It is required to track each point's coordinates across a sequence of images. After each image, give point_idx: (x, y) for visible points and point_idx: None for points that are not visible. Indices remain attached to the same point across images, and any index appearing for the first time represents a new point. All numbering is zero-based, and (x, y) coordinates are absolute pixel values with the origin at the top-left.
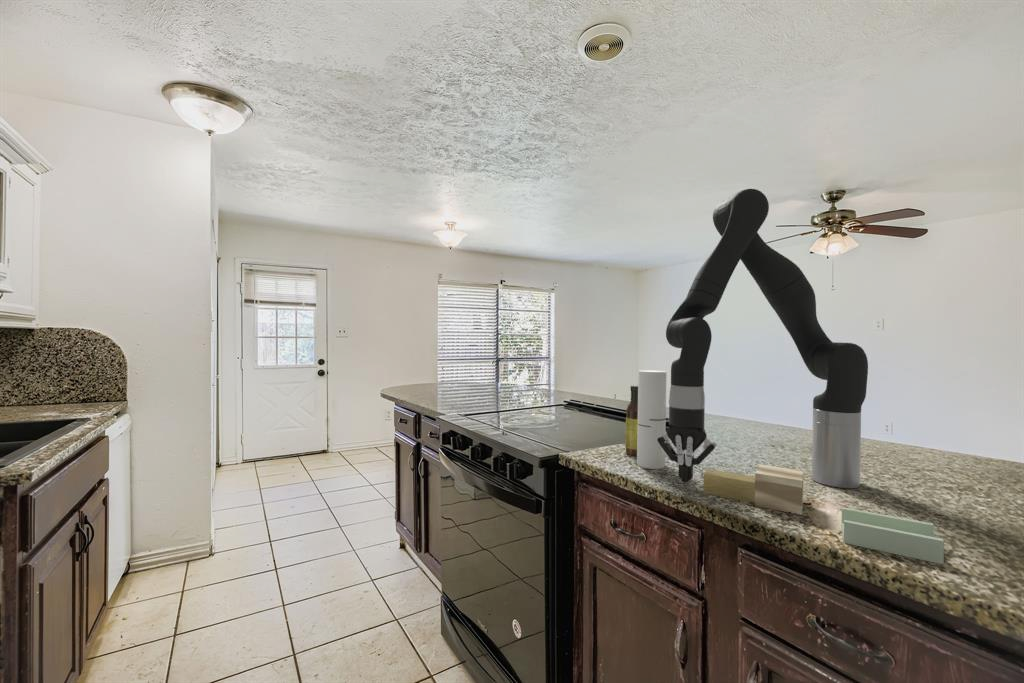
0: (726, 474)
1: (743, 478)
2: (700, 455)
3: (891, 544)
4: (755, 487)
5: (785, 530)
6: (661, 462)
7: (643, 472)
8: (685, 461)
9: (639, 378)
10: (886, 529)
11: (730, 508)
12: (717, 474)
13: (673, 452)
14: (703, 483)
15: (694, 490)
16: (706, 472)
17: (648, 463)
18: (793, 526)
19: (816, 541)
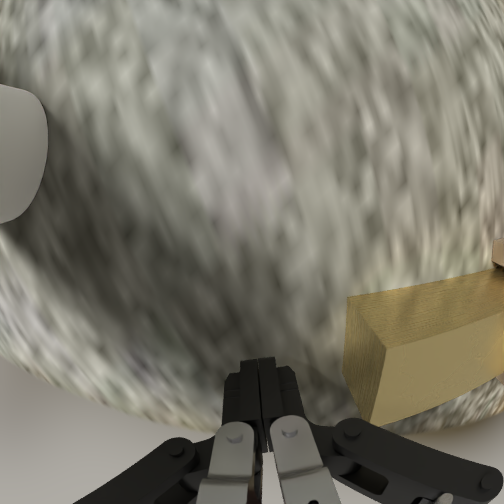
0: (458, 366)
1: (499, 356)
2: (376, 496)
3: None
4: (501, 381)
5: (480, 413)
6: (24, 165)
7: (38, 292)
8: (258, 445)
9: None
10: None
11: (416, 414)
12: (424, 398)
13: (166, 480)
14: (353, 397)
15: (307, 376)
16: (379, 412)
17: (1, 222)
18: (497, 389)
19: (500, 407)
